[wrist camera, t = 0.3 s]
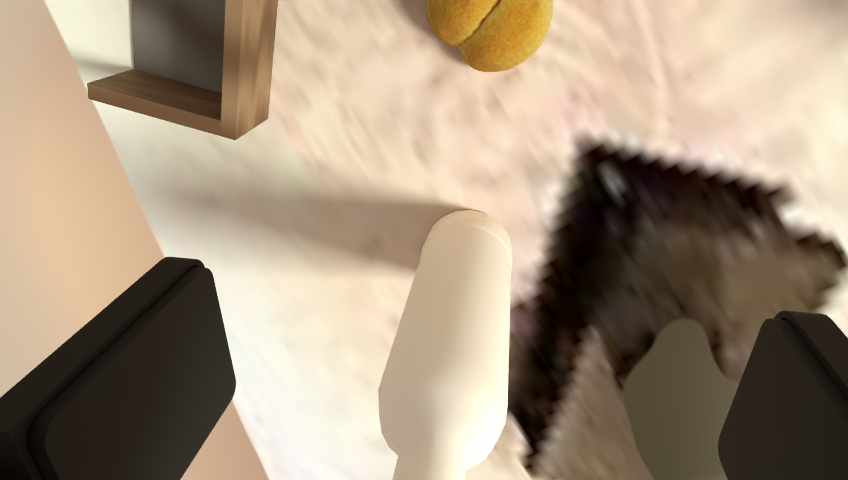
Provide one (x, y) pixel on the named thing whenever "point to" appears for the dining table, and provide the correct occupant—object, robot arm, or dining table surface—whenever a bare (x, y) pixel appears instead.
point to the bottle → (451, 352)
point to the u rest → (198, 64)
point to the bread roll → (491, 29)
